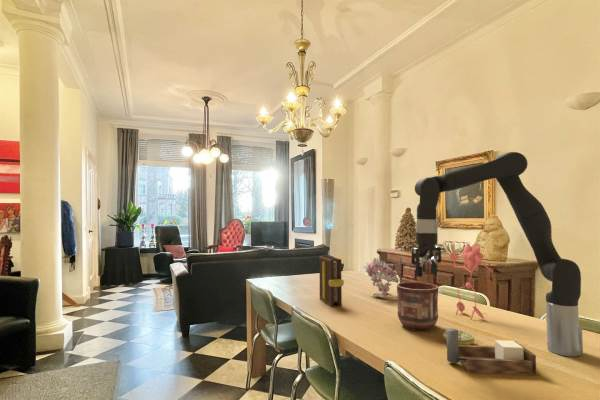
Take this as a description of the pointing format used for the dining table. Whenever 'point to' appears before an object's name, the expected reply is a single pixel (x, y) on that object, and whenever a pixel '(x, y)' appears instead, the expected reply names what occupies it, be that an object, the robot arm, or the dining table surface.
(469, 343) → the decorated donut
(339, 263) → the book
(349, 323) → the dining table surface
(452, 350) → the block with knobbed rod
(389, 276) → the flower
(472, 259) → the figurine
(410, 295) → the pottery
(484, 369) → the walnut lane
